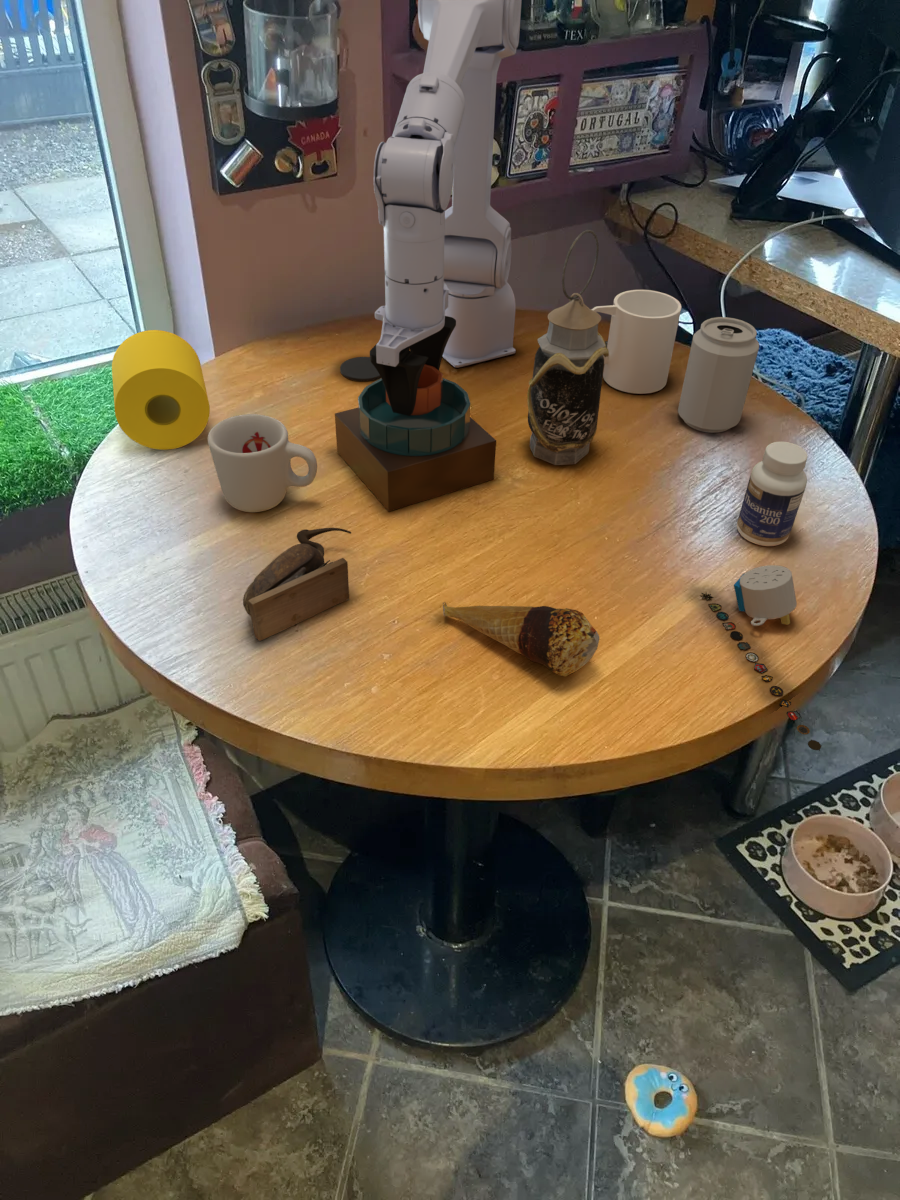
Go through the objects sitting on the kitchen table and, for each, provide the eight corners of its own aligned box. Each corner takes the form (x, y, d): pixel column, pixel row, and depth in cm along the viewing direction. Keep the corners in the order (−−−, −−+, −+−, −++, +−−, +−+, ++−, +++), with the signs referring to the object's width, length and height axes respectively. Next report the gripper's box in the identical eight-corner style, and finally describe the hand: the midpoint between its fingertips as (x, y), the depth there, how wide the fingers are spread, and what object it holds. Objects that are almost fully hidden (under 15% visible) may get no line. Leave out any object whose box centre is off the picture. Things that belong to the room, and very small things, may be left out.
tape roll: (94, 415, 101) (93, 374, 108) (170, 465, 108) (164, 423, 114) (154, 350, 99) (149, 312, 105) (228, 405, 105) (218, 366, 112)
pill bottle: (725, 531, 97) (747, 451, 91) (752, 510, 100) (775, 431, 94) (772, 555, 95) (798, 474, 88) (798, 532, 98) (825, 452, 91)
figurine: (386, 581, 90) (336, 537, 95) (385, 544, 87) (334, 500, 92) (258, 642, 83) (211, 590, 88) (252, 604, 80) (204, 553, 85)
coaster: (374, 355, 125) (373, 352, 124) (394, 375, 121) (394, 372, 121) (332, 365, 122) (332, 362, 122) (352, 385, 118) (352, 382, 118)
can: (744, 413, 116) (768, 321, 108) (731, 442, 111) (755, 347, 103) (684, 399, 118) (704, 307, 110) (669, 427, 113) (688, 333, 105)
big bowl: (435, 390, 108) (435, 364, 106) (488, 439, 100) (490, 412, 98) (341, 414, 103) (340, 388, 101) (390, 467, 96) (389, 440, 94)
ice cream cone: (418, 626, 83) (574, 673, 76) (441, 566, 84) (597, 607, 77) (445, 646, 88) (593, 691, 81) (467, 589, 89) (614, 629, 82)
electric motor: (730, 638, 87) (782, 644, 84) (721, 593, 85) (774, 598, 82) (761, 600, 92) (812, 605, 88) (753, 557, 90) (805, 560, 86)
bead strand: (710, 592, 90) (697, 594, 90) (710, 591, 90) (698, 593, 90) (825, 750, 76) (811, 753, 75) (826, 749, 76) (811, 752, 75)
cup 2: (566, 367, 123) (575, 293, 116) (652, 360, 125) (666, 287, 118) (586, 398, 117) (597, 322, 110) (676, 390, 119) (692, 315, 113)
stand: (436, 424, 112) (437, 386, 109) (494, 479, 104) (496, 440, 100) (336, 451, 107) (334, 413, 104) (388, 511, 99) (387, 471, 95)
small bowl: (424, 384, 103) (424, 358, 101) (451, 409, 99) (452, 382, 97) (377, 397, 101) (376, 369, 99) (403, 423, 97) (402, 395, 95)
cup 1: (327, 482, 102) (322, 418, 97) (311, 526, 96) (305, 460, 91) (229, 474, 103) (220, 410, 98) (208, 517, 97) (196, 451, 92)
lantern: (568, 478, 104) (597, 254, 88) (507, 453, 108) (524, 233, 91) (607, 445, 109) (641, 228, 93) (548, 422, 113) (571, 209, 96)
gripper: (404, 240, 97) (405, 361, 106) (344, 294, 87) (351, 423, 96) (469, 250, 95) (464, 372, 104) (415, 307, 85) (415, 437, 94)
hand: (414, 398), depth 100 cm, fingers closed on small bowl, 6 cm apart
